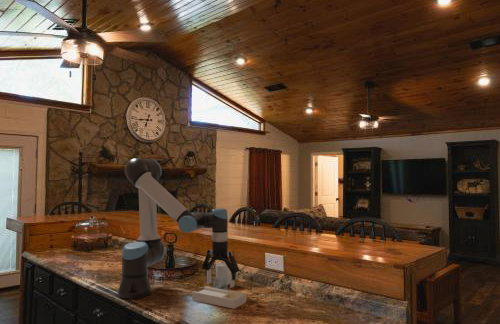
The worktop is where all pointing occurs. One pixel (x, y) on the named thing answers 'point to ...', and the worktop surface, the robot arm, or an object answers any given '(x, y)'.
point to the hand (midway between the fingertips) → (220, 285)
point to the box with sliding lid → (220, 297)
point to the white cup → (223, 272)
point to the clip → (219, 283)
